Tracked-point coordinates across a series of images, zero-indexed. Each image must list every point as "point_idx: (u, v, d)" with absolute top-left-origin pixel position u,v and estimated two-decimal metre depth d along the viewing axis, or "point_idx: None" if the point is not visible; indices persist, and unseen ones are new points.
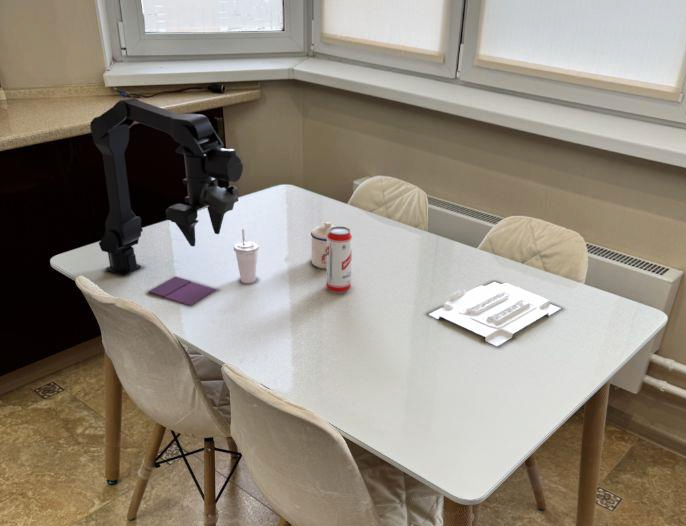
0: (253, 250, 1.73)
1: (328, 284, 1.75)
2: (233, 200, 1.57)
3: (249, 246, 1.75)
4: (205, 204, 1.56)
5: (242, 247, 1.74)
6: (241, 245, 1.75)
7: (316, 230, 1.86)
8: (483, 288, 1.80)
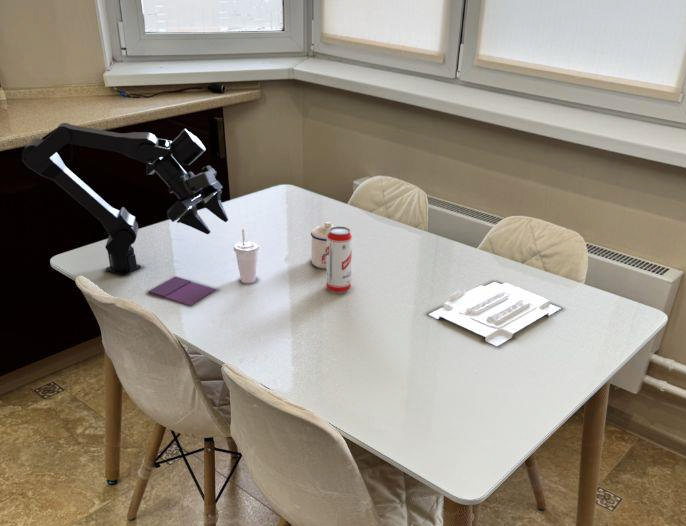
0: (253, 250, 1.73)
1: (328, 284, 1.75)
2: (210, 171, 1.69)
3: (249, 246, 1.75)
4: (193, 191, 1.69)
5: (242, 247, 1.74)
6: (241, 245, 1.75)
7: (316, 230, 1.86)
8: (483, 288, 1.80)
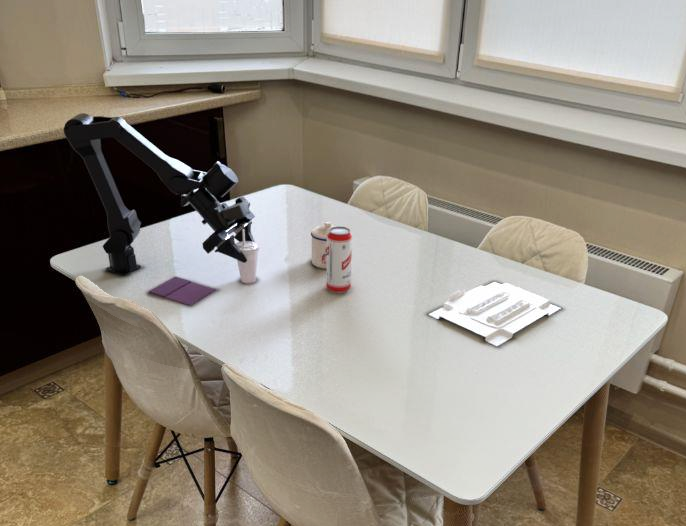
0: (253, 250, 1.73)
1: (328, 284, 1.75)
2: (244, 203, 1.70)
3: (249, 246, 1.75)
4: (227, 222, 1.70)
5: (242, 247, 1.74)
6: (241, 245, 1.75)
7: (316, 230, 1.86)
8: (483, 288, 1.80)
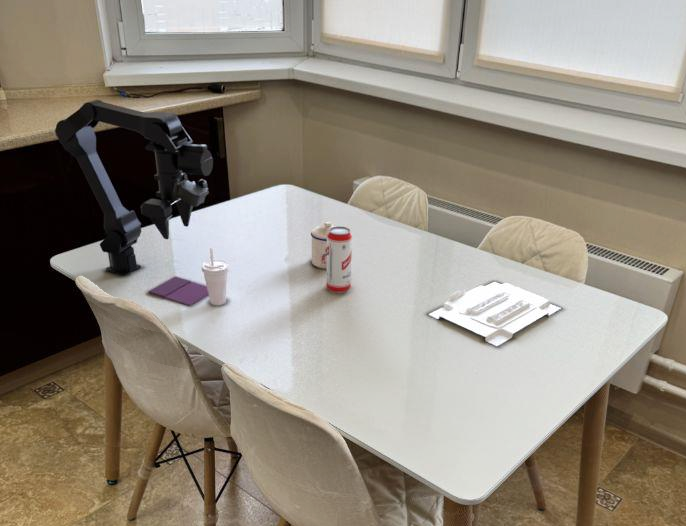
0: (222, 270, 1.63)
1: (328, 284, 1.75)
2: (204, 193, 1.65)
3: (218, 266, 1.64)
4: (178, 198, 1.64)
5: (210, 267, 1.63)
6: (209, 265, 1.64)
7: (316, 230, 1.86)
8: (483, 288, 1.80)
